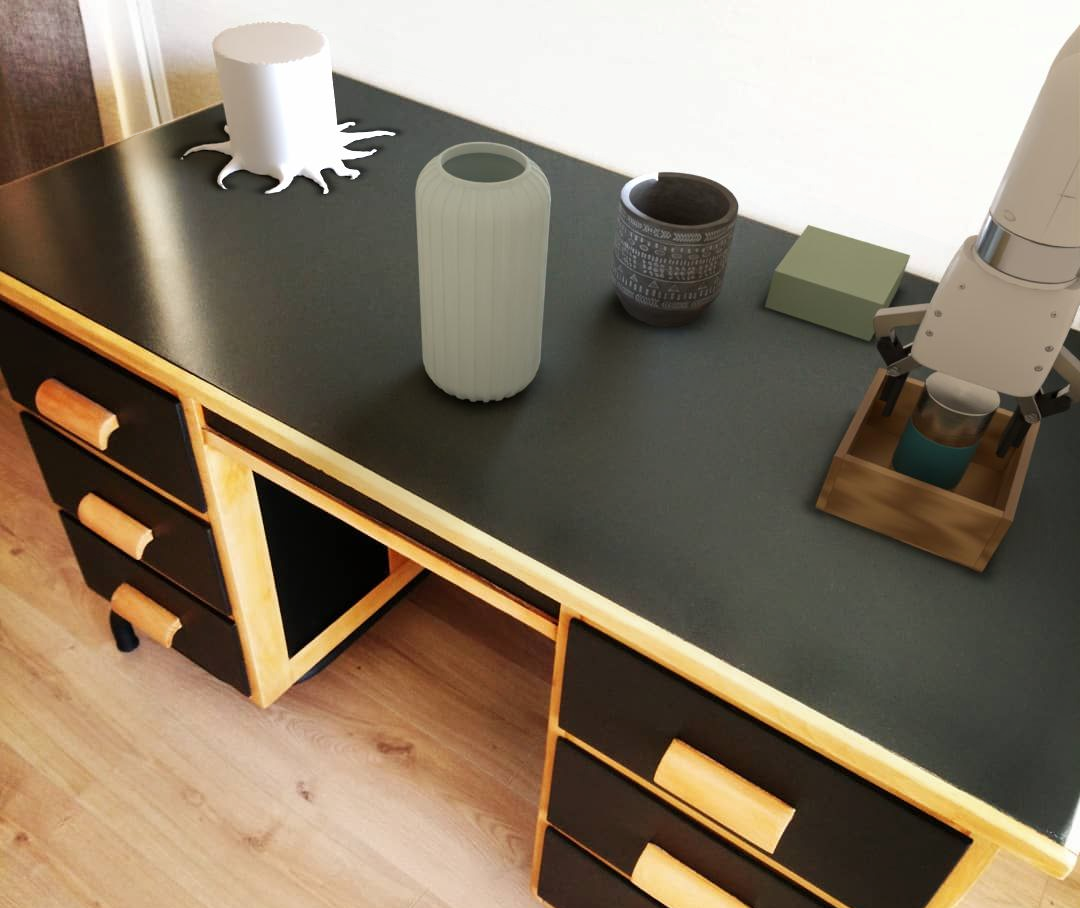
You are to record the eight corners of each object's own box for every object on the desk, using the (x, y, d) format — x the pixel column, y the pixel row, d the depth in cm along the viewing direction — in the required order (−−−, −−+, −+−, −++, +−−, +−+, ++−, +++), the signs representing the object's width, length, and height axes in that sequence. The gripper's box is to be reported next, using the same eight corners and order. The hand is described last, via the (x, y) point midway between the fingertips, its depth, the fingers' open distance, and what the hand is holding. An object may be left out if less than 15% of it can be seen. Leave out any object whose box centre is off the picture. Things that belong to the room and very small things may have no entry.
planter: (718, 286, 108) (742, 179, 99) (712, 346, 100) (736, 236, 90) (614, 271, 109) (627, 164, 100) (599, 329, 101) (612, 218, 91)
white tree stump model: (304, 215, 114) (288, 98, 104) (145, 165, 121) (115, 50, 110) (412, 139, 130) (406, 31, 120) (265, 98, 136) (249, -7, 126)
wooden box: (1009, 475, 88) (1040, 421, 83) (979, 575, 79) (1013, 521, 74) (858, 421, 92) (879, 367, 87) (813, 510, 83) (834, 455, 78)
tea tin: (957, 480, 86) (1007, 384, 78) (942, 521, 82) (993, 424, 74) (892, 457, 88) (934, 360, 80) (875, 495, 84) (917, 398, 76)
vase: (508, 335, 99) (516, 124, 83) (558, 398, 92) (577, 181, 76) (406, 360, 95) (393, 143, 79) (450, 427, 88) (446, 205, 72)
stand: (895, 294, 109) (910, 255, 105) (868, 344, 101) (883, 304, 98) (797, 263, 112) (808, 224, 109) (763, 310, 105) (774, 270, 101)
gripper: (1164, 258, 67) (1055, 440, 80) (925, 191, 72) (857, 372, 85) (1157, 306, 63) (1042, 491, 75) (901, 231, 68) (833, 416, 80)
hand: (944, 428), depth 80 cm, fingers open, 9 cm apart
